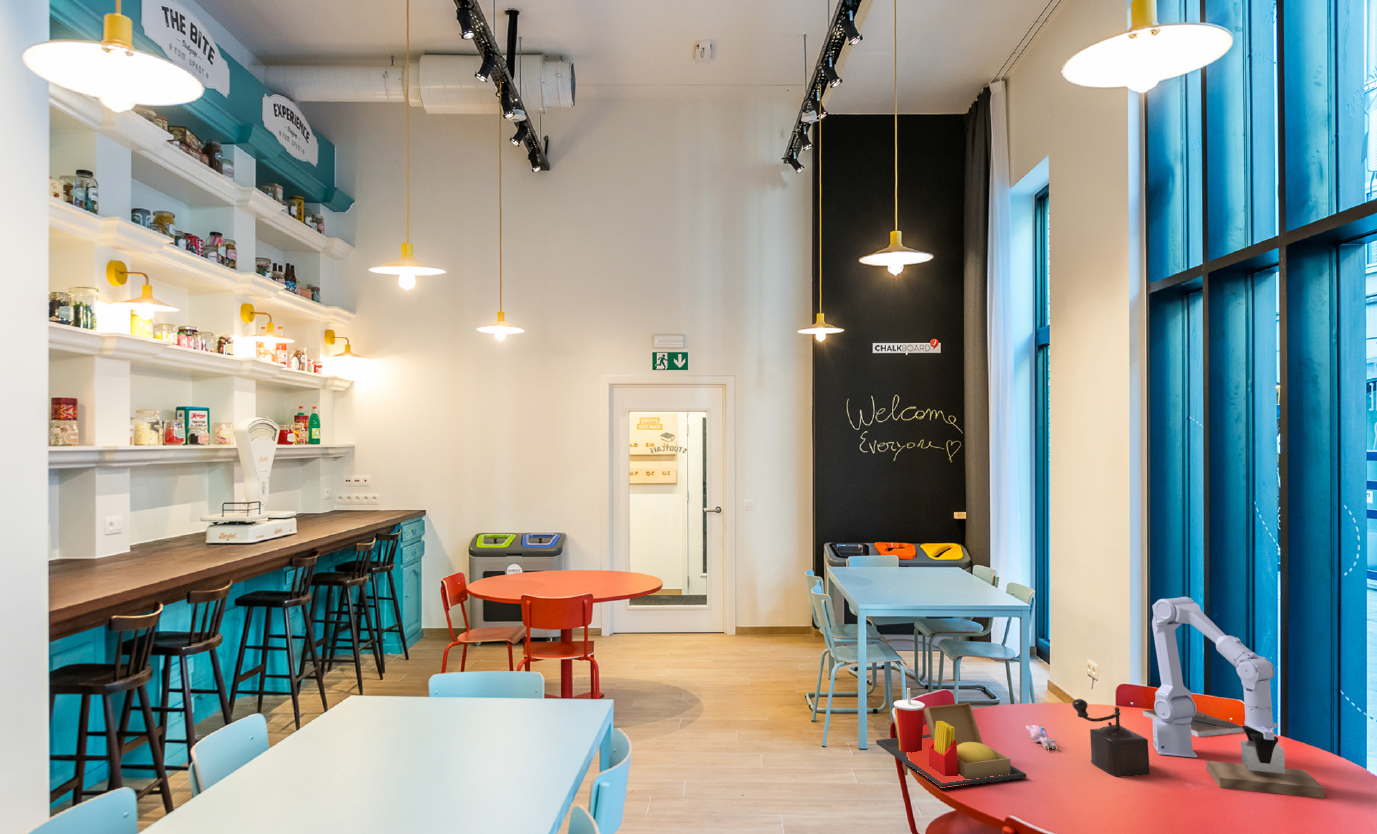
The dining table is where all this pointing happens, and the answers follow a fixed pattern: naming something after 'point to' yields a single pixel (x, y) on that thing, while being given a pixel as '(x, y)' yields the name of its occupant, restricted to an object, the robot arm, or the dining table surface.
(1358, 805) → the dining table surface
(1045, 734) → the unicorn plush toy
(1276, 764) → the aluminium block
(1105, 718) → the dark brown coffee grinder
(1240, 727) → the picture frame
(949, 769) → the fast food meal
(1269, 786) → the walnut plinth
